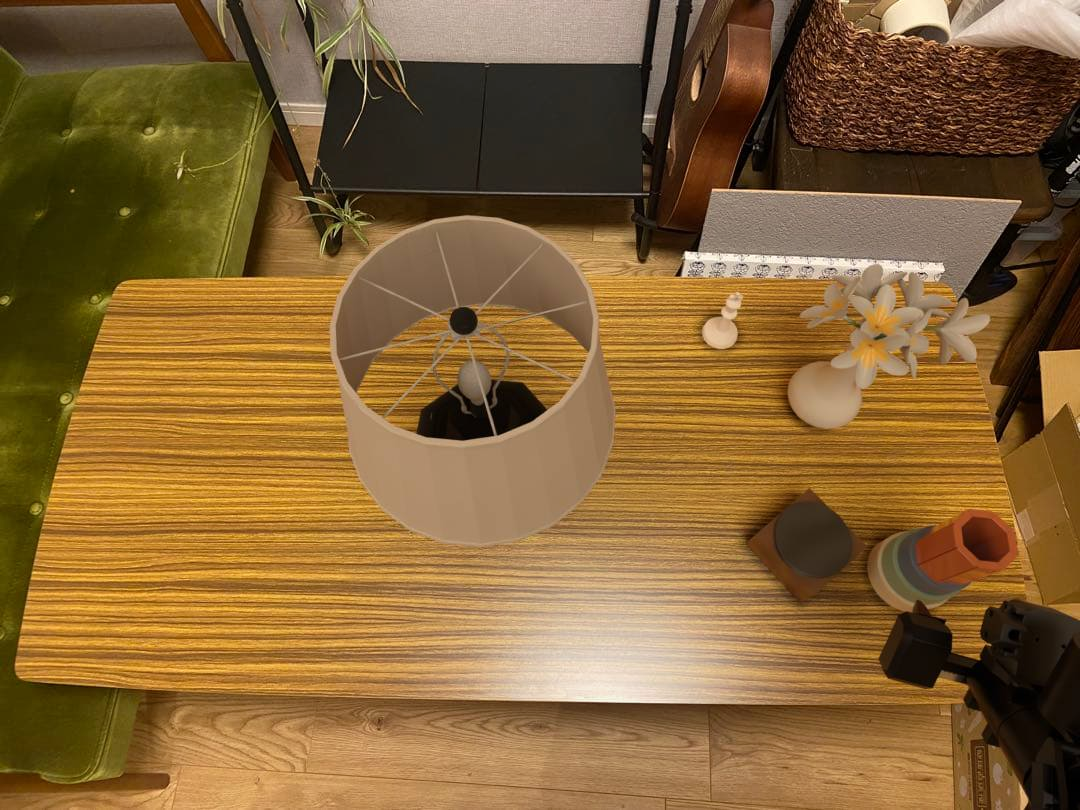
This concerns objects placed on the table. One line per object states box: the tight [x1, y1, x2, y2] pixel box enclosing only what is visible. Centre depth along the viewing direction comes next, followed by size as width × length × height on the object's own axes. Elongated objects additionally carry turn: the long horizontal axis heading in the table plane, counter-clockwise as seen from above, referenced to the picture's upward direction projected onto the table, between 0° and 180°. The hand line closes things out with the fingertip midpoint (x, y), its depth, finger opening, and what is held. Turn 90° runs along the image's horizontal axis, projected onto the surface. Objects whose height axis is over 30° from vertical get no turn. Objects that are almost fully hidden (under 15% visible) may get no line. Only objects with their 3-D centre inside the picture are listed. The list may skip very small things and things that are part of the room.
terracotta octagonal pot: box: [915, 508, 1019, 586], centre depth 73 cm, size 6×6×8 cm
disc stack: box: [866, 524, 973, 612], centre depth 81 cm, size 9×9×9 cm
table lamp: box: [329, 214, 617, 548], centre depth 72 cm, size 27×27×40 cm
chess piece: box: [701, 291, 744, 350], centre depth 95 cm, size 5×5×10 cm
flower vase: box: [786, 263, 991, 430], centre depth 83 cm, size 13×18×25 cm
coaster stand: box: [745, 487, 868, 604], centre depth 84 cm, size 9×9×6 cm
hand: (964, 616), depth 70 cm, fingers open, 9 cm apart
